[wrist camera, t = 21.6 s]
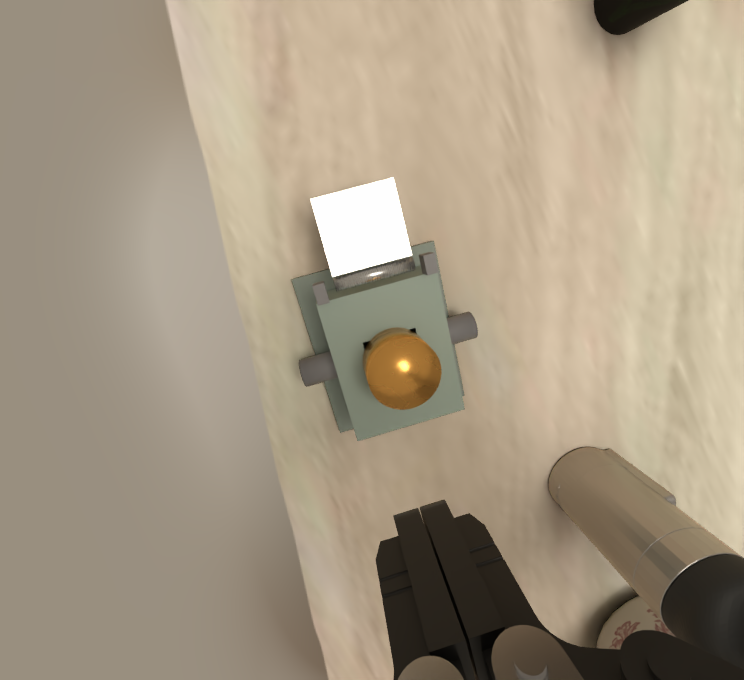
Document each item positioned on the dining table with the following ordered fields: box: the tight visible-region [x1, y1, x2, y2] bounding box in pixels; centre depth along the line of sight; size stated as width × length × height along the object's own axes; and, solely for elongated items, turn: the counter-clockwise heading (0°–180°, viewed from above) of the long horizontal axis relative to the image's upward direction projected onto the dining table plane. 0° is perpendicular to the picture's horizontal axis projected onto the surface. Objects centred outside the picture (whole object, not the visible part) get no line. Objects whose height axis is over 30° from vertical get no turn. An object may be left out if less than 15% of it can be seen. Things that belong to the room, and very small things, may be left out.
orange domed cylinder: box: [363, 327, 442, 410], centre depth 36 cm, size 6×6×10 cm
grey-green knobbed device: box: [292, 241, 478, 441], centre depth 38 cm, size 18×18×8 cm
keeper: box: [310, 177, 415, 292], centre depth 31 cm, size 7×1×8 cm
